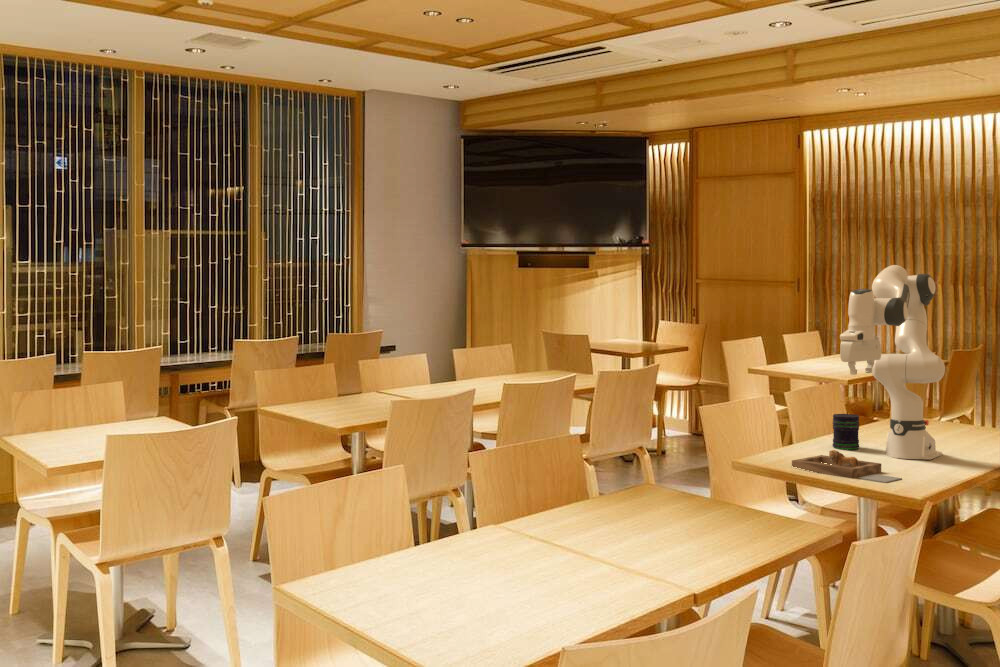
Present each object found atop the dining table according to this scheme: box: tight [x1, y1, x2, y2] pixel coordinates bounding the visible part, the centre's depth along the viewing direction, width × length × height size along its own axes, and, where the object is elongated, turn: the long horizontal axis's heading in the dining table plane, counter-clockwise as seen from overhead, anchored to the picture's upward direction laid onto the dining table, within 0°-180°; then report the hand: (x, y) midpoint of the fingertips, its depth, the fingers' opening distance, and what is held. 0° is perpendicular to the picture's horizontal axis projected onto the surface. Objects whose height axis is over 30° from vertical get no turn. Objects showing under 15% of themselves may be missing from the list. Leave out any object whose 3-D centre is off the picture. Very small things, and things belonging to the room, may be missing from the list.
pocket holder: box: [791, 454, 882, 479], centre depth 339 cm, size 18×24×3 cm
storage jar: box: [832, 413, 860, 451], centre depth 376 cm, size 10×10×15 cm
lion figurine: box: [828, 449, 860, 467], centre depth 337 cm, size 12×4×7 cm, turn 58°
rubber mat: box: [857, 473, 903, 484], centre depth 322 cm, size 10×10×1 cm
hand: (861, 373), depth 339 cm, fingers open, 8 cm apart
